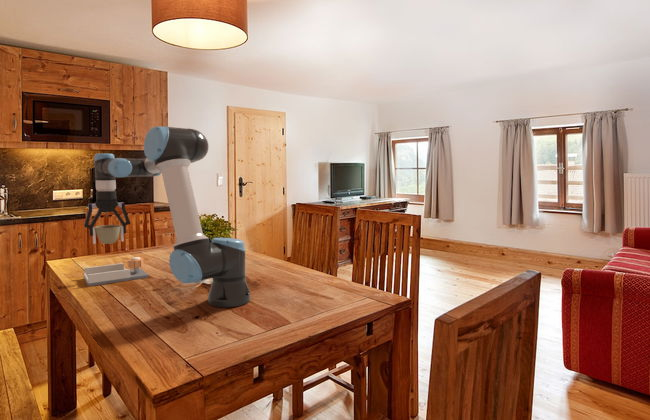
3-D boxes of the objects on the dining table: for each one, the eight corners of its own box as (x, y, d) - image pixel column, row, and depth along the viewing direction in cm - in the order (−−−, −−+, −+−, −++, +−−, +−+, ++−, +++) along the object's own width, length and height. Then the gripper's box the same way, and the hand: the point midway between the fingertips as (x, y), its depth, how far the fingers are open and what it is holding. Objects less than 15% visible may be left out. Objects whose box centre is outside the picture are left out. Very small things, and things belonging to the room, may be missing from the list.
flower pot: (126, 240, 179) (125, 224, 178) (113, 245, 169) (112, 228, 168) (104, 240, 179) (103, 224, 178) (90, 244, 169) (89, 227, 168)
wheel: (145, 266, 181) (144, 258, 180) (130, 268, 177) (129, 260, 177) (141, 264, 186) (141, 255, 185) (127, 265, 182) (126, 257, 182)
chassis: (148, 277, 178) (147, 267, 178) (88, 286, 164) (87, 275, 164) (140, 270, 189) (140, 260, 189) (83, 278, 176) (83, 267, 175)
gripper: (133, 189, 181) (135, 238, 183) (74, 190, 168) (77, 243, 170) (136, 190, 175) (138, 241, 177) (75, 191, 162) (78, 246, 164)
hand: (108, 242), depth 174 cm, fingers closed on flower pot, 10 cm apart
